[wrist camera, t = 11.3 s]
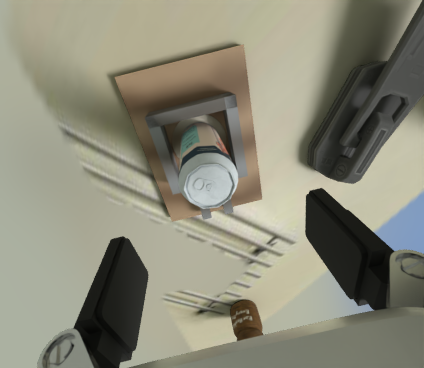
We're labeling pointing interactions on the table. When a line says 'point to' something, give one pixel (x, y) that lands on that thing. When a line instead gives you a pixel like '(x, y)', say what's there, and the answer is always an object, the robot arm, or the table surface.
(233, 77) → the keyhole board
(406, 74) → the zipper pull
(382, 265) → the robot arm
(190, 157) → the beer can
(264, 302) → the table surface
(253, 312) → the utensil holder
